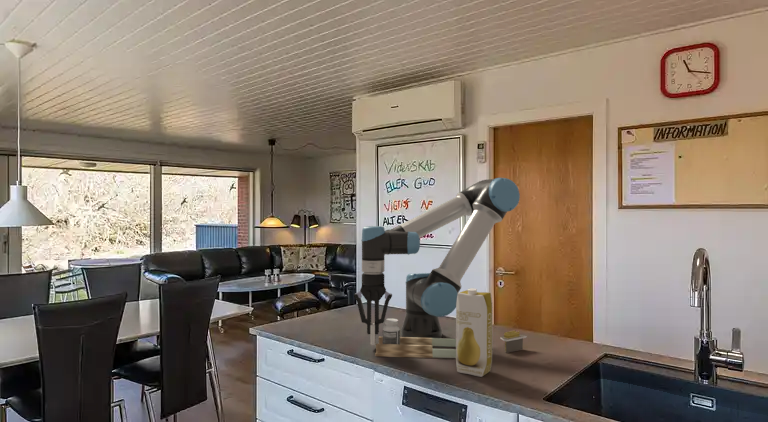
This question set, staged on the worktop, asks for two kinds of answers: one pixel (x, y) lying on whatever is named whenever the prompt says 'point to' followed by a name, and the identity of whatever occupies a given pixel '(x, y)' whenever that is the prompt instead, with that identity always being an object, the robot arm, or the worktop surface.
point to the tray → (444, 352)
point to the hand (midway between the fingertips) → (373, 343)
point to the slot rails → (406, 348)
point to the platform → (513, 341)
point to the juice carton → (474, 332)
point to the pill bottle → (391, 332)
